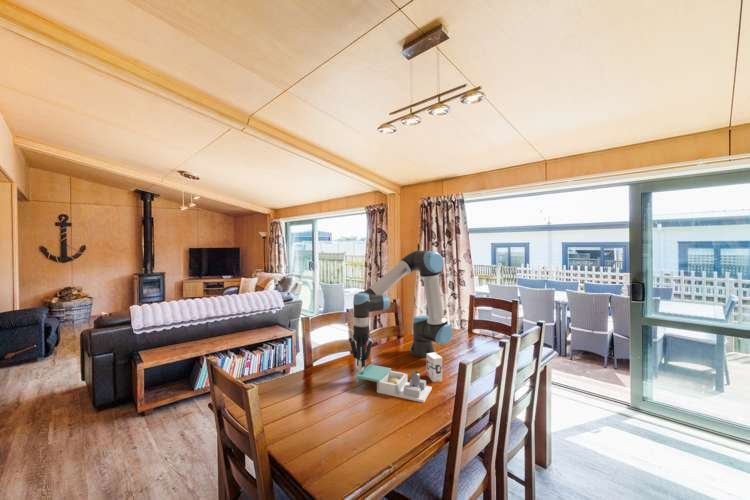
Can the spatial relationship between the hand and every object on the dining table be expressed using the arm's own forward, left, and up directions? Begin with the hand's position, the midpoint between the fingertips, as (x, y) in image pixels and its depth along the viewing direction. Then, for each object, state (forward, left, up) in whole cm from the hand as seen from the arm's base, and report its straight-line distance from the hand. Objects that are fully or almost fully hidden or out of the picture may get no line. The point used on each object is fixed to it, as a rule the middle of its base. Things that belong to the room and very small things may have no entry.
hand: (361, 372), depth 155 cm
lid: (0, +7, -1) cm, 7 cm away
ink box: (-19, +32, -5) cm, 37 cm away
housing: (0, +23, -4) cm, 23 cm away
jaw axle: (0, +28, -4) cm, 28 cm away
